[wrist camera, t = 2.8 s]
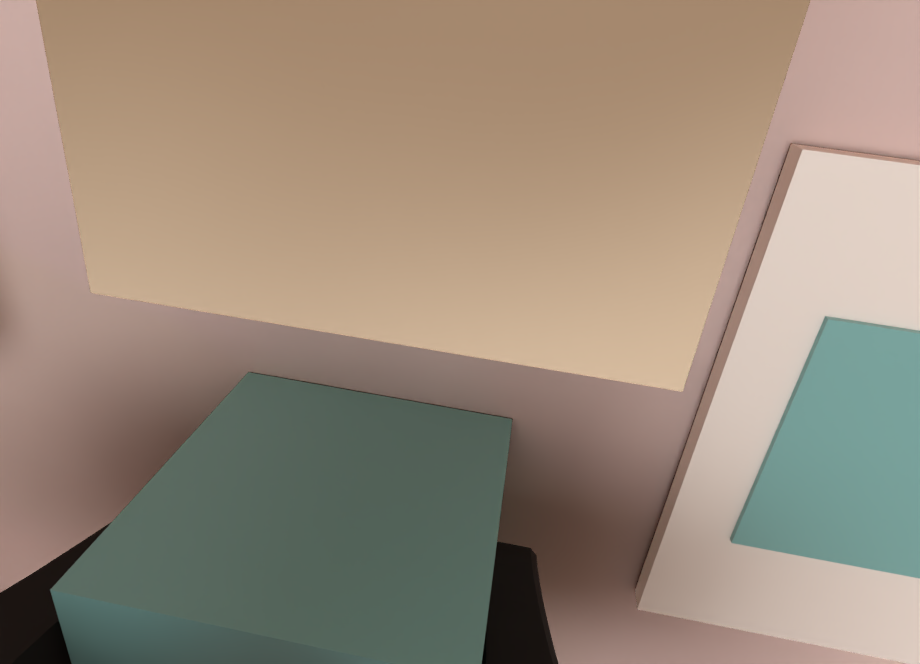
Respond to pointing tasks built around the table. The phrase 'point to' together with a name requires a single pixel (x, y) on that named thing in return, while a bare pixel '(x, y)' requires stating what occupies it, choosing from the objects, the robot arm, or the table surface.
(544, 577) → the table surface
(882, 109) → the table surface
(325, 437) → the teal block
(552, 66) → the birch block
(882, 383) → the tile
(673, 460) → the table surface
